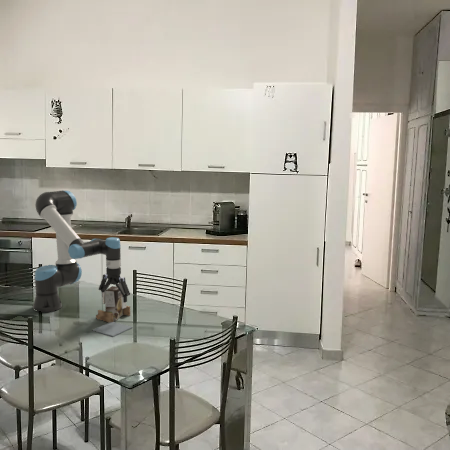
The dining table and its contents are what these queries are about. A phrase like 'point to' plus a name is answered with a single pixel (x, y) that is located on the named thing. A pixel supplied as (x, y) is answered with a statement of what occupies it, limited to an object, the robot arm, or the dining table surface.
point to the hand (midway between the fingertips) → (114, 305)
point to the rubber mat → (112, 329)
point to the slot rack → (111, 314)
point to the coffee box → (114, 302)
